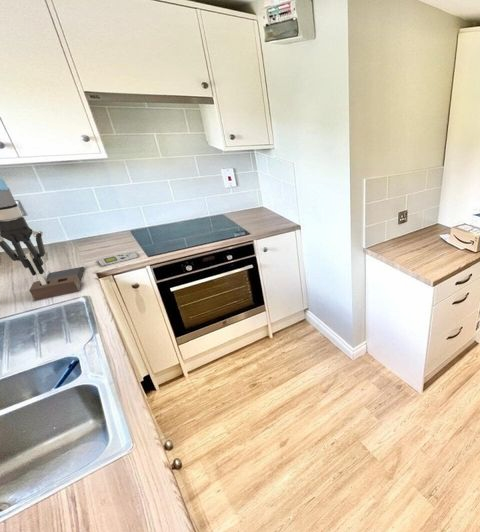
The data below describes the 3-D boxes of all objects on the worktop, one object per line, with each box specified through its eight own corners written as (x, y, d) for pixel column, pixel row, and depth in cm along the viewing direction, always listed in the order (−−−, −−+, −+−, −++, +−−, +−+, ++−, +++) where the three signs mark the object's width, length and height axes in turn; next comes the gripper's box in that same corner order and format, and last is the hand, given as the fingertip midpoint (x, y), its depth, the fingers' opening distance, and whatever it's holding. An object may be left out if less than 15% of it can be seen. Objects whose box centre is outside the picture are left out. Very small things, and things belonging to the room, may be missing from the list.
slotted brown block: (78, 291, 138) (73, 281, 136) (35, 300, 131) (29, 290, 129) (81, 283, 144) (76, 273, 142) (39, 292, 137) (33, 281, 135)
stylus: (43, 289, 134) (24, 254, 127) (44, 287, 135) (25, 253, 128) (48, 288, 135) (29, 253, 127) (49, 286, 136) (30, 252, 128)
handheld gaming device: (137, 255, 168) (101, 264, 158) (138, 256, 169) (101, 266, 159) (133, 250, 174) (97, 259, 163) (133, 252, 174) (98, 260, 164)
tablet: (42, 289, 139) (41, 287, 138) (50, 274, 150) (49, 272, 150) (79, 282, 145) (78, 279, 145) (84, 268, 157) (83, 266, 156)
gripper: (38, 213, 128) (64, 265, 138) (-17, 218, 120) (15, 274, 130) (33, 218, 122) (61, 272, 133) (-24, 224, 114) (10, 281, 125)
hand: (38, 273), depth 132 cm, fingers closed on stylus, 1 cm apart
